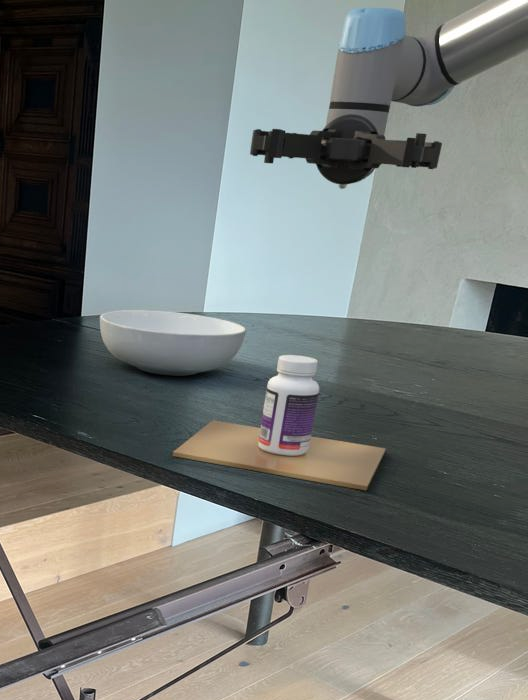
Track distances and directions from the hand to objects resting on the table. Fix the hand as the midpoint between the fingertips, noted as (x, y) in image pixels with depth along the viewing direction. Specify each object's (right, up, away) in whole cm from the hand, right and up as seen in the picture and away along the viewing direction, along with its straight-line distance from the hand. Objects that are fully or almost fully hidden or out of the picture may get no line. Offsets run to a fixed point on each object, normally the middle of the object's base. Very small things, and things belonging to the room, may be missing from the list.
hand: (340, 147), depth 102 cm
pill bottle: (-5, -30, +5) cm, 31 cm away
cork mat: (-5, -31, +5) cm, 32 cm away
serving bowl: (-13, -12, +42) cm, 46 cm away
